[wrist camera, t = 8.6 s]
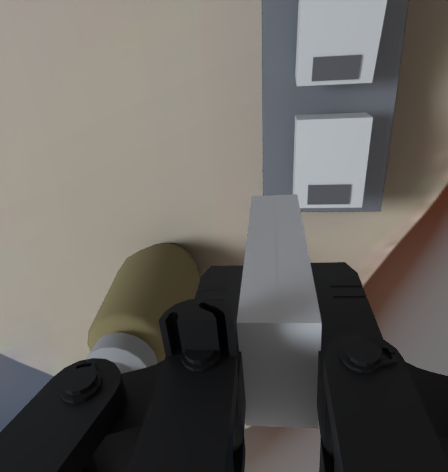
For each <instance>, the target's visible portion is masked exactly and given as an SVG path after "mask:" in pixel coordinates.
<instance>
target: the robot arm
mask: <svg viewBox="0 0 448 472" xmlns="http://www.w3.org/2000/svg"><path fill="white" fill-rule="evenodd" d="M158 321H159V326H160V331H161V336H162V341H163V346H164V351H165V355H166V356H165V359H164V360H163V361H161V362H159V363H157V364H155V365H152V366H149V367H146V368H142V369H138V370H134V371H130V372H126V373H122V374H121V372H120V370H119V369H118V367H117V366H116V364H115V363H113V362H111V361H109V360H107V359H102V358H91V359H86V360H82V361H78V362H76V363H74V364H72V365H70V366H68V367H66V368H64V369H63V370H62V371H60V372H59V373H58V374H57V375H55V376H54V377H53V378H52V379H51V380H50V381H49V382H48V383H47V384H46V385H45V386H44V387H43V388H42V389H41V390H40V392H39V393H38V394H37V395H36V396H35V397H34V398H33V399H32V400H31V401H30V402H29V403H28V404H27V405H26V406H25V407H24V408H23V409H22V410H21V411H20V412H19V413H18V414H17V416H16V417H15V418H14V419H13V420H12V421H11V422H10V423H9V424H8V425H7V426H6V427H5V428H4V429H3V430H2V431H1V432H0V472H244V468H245V441H244V426H245V423H246V425H251V426H276V427H302V428H318V419H319V426H320V434H321V447H320V470H319V472H448V376H445V375H441V374H437V373H433V372H429V371H426V370H423V369H420V368H417V367H415V366H413V365H411V364H409V363H407V362H405V361H404V359H403V357H402V356H401V355H400V353H399V352H398V350H397V349H396V348H395V347H393V346H392V345H390V344H389V343H388V342H386V341H385V340H383V337H382V335H381V332H380V330H379V327H378V325H377V322H376V319H375V317H374V314H373V312H372V309H371V307H370V304H369V302H368V299H367V298H366V294H365V291H364V289H363V288H362V284H361V281H360V279H359V276H358V274H357V272H356V271H355V270H353V269H352V268H351V267H350V266H349V265H347V264H346V263H345V262H337V263H310V259H309V253H308V248H307V243H306V238H305V232H304V227H303V222H302V216H301V211H300V206H299V201H298V195H297V194H293V195H270V196H252V200H251V209H250V217H249V225H248V233H247V241H246V250H245V258H244V266H211V267H210V268H209V269H208V270H207V271H206V272H205V273H204V274H203V275H202V276H201V279H200V282H199V285H198V291H197V292H196V295H195V298H194V299H189V300H186V301H183V302H180V303H177V304H175V305H173V306H172V307H171V308H169V309H168V310H166V311H165V312H164V313H163V315H162V316H161V318H160V319H159V320H158Z"/></svg>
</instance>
